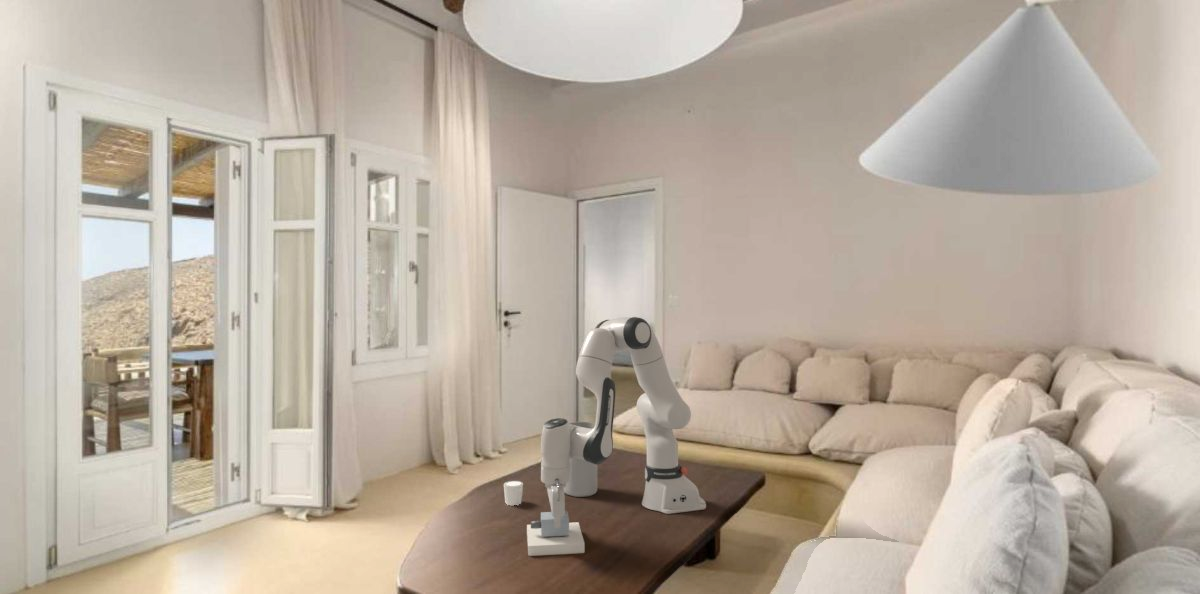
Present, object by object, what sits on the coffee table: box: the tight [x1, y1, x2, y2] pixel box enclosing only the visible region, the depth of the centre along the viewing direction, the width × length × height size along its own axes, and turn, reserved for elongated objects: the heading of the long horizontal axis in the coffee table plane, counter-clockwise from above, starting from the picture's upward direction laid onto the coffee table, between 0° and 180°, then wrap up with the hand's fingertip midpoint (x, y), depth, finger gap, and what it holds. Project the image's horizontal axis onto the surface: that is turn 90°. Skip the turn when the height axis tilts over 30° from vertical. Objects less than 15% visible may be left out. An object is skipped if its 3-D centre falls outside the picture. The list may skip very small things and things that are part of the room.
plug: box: [530, 510, 570, 538], centre depth 180 cm, size 11×6×8 cm, turn 99°
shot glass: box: [503, 480, 524, 507], centre depth 214 cm, size 7×7×7 cm
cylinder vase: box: [564, 421, 598, 498], centre depth 227 cm, size 12×12×25 cm
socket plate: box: [526, 521, 586, 557], centre depth 180 cm, size 16×16×4 cm
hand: (555, 520), depth 180 cm, fingers open, 8 cm apart
